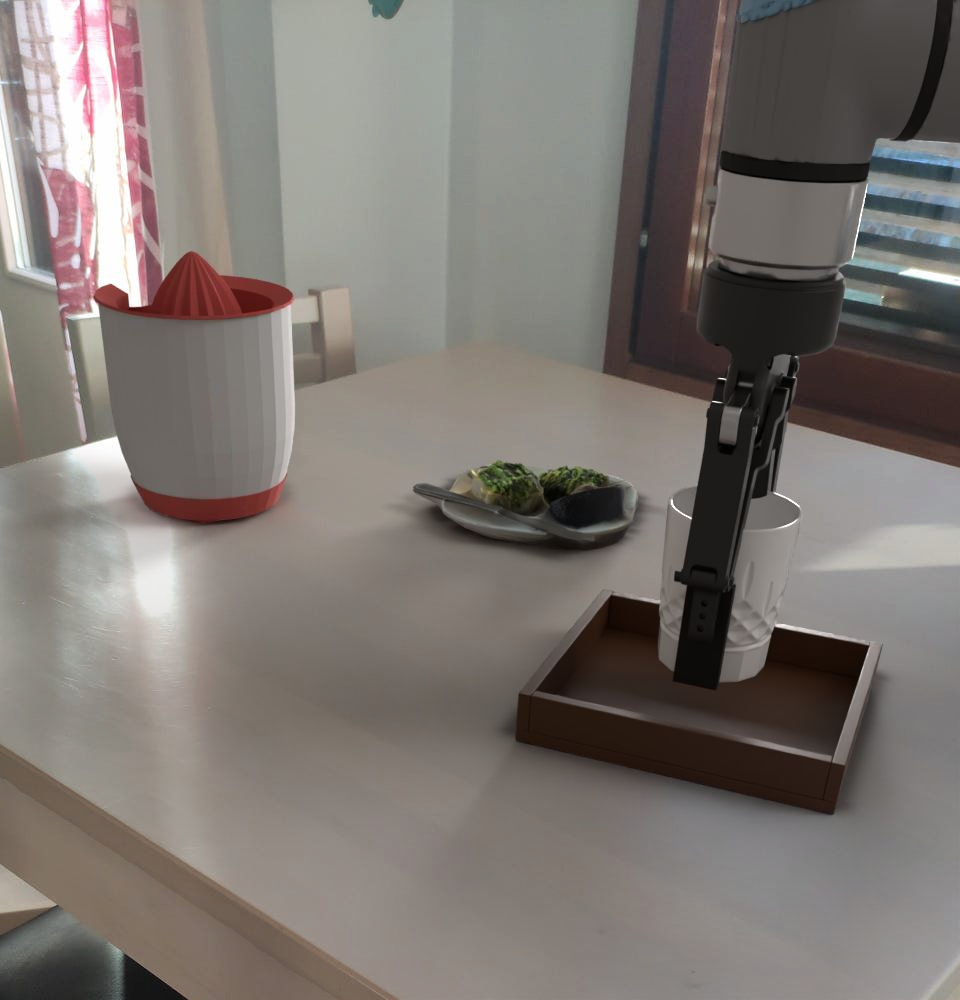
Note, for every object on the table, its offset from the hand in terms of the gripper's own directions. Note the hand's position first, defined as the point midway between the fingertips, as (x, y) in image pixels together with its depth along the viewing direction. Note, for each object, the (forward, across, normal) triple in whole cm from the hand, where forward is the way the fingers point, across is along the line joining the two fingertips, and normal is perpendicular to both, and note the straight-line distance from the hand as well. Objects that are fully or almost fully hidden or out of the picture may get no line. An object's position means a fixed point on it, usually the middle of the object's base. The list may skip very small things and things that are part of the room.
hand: (710, 655), depth 80 cm
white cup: (0, 0, 0) cm, 0 cm away
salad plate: (+4, -29, -21) cm, 36 cm away
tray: (+4, 0, 0) cm, 4 cm away
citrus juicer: (+4, -19, -49) cm, 53 cm away
